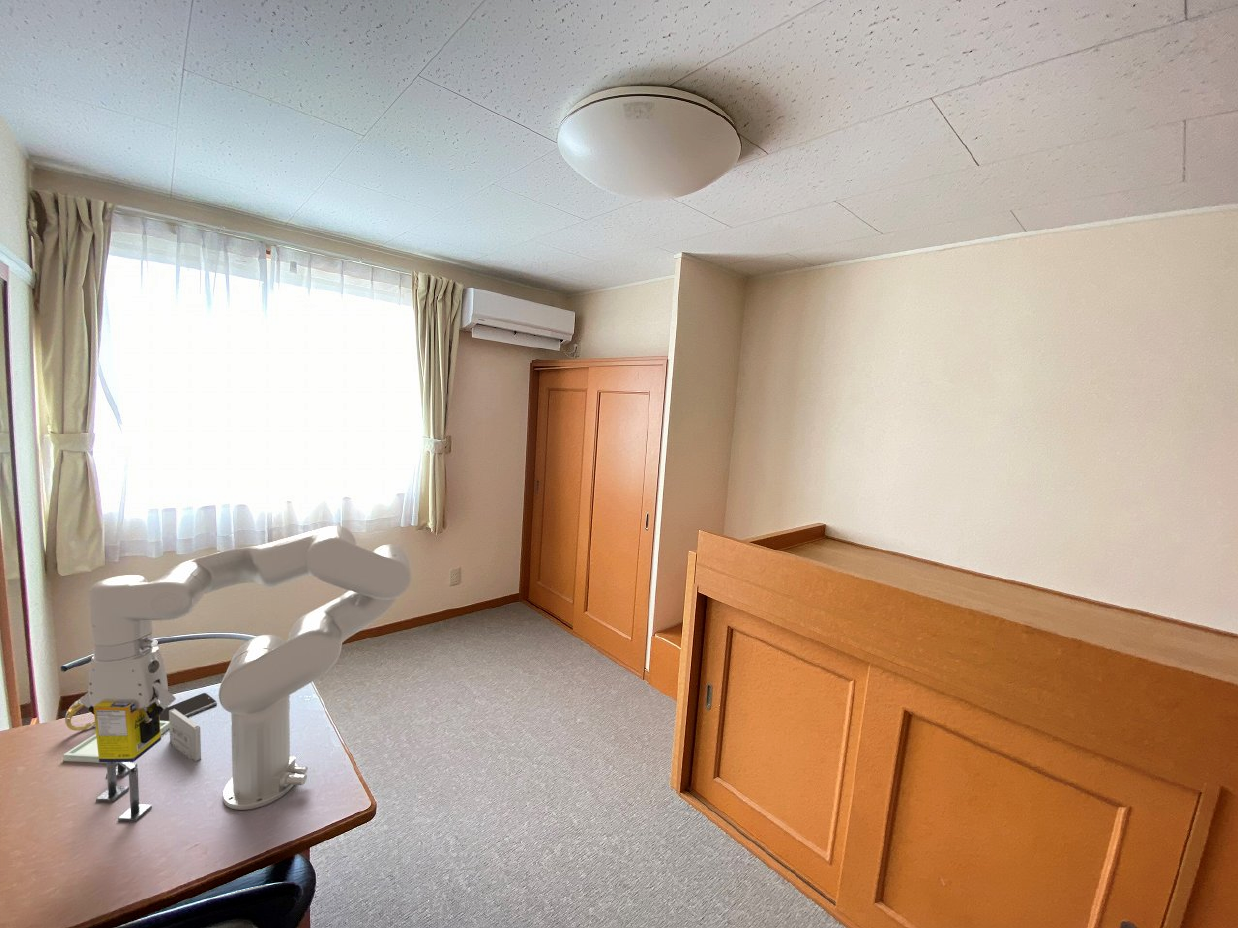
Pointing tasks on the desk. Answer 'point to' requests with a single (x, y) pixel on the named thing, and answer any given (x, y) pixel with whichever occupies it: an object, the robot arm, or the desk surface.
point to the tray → (94, 748)
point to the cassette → (185, 735)
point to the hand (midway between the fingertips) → (131, 736)
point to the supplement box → (120, 732)
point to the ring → (71, 712)
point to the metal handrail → (124, 790)
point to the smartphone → (190, 706)
